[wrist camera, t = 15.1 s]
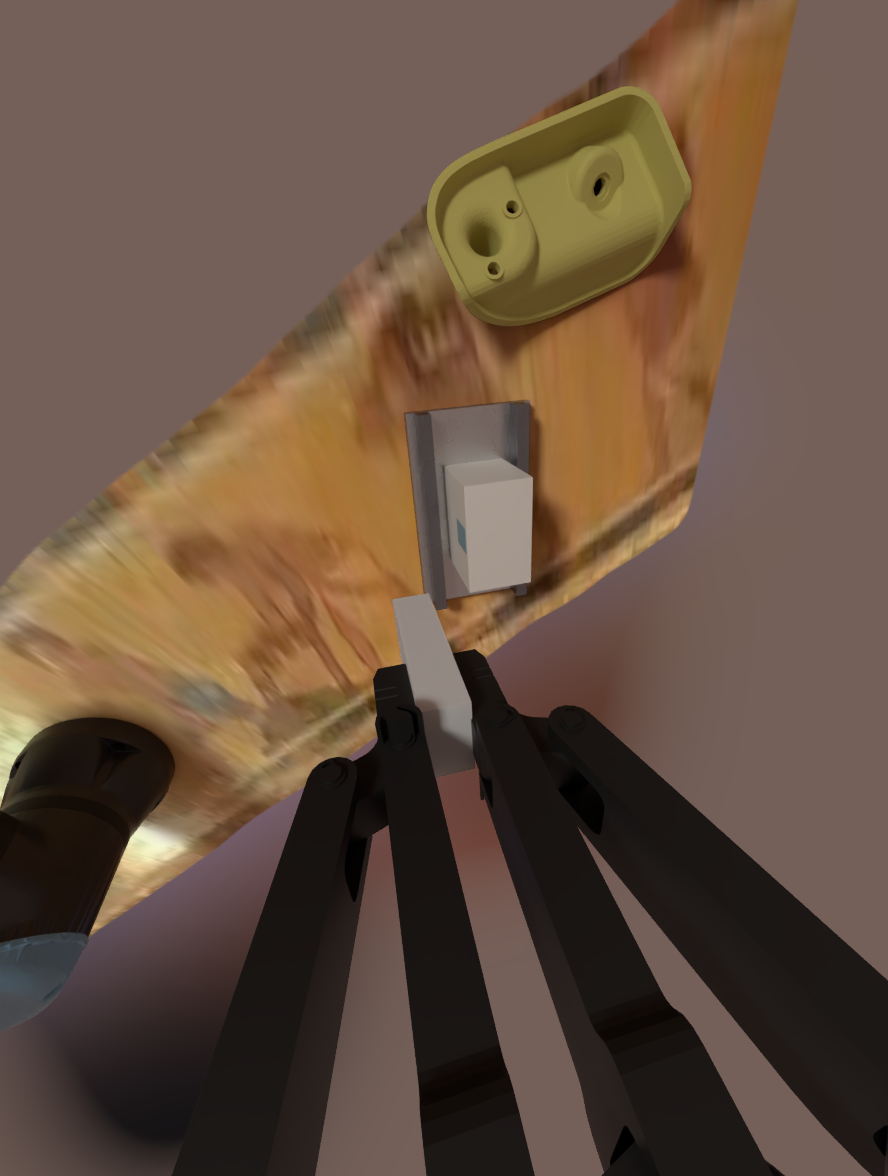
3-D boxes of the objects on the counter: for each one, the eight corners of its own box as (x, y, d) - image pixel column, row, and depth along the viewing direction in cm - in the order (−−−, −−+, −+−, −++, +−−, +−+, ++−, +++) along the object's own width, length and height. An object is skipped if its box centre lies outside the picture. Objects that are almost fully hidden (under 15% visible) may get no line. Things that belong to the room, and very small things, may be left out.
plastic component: (647, 75, 32) (701, 206, 33) (601, 168, 40) (646, 273, 40) (403, 178, 31) (466, 313, 31) (403, 255, 38) (454, 362, 39)
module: (449, 558, 48) (469, 592, 41) (442, 465, 43) (463, 486, 36) (503, 550, 49) (531, 582, 42) (502, 458, 44) (533, 477, 37)
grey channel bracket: (424, 597, 51) (429, 611, 48) (403, 412, 41) (408, 416, 38) (522, 580, 52) (533, 593, 50) (525, 399, 43) (538, 402, 40)
